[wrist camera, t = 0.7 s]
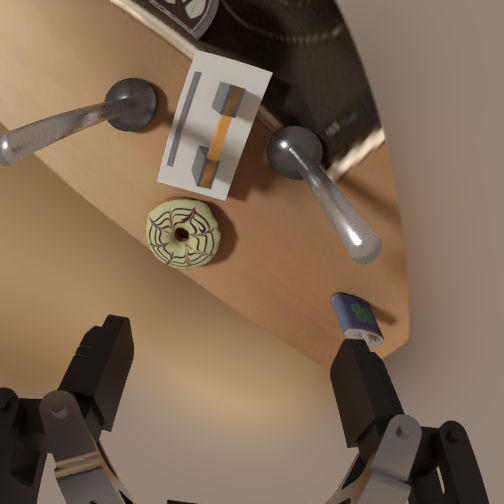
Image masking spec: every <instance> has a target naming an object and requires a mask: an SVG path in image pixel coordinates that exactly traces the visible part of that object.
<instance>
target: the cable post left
mask: <svg viewBox="0 0 504 504" xmlns="http://www.w3.org/2000/svg"><path fill="white" fill-rule="evenodd" d="M157 107H158V97H157V93H156V91H155V89H154V87H153V86H152V85H151V84H150V83H149V82H147V81H145V80H143V79H138V78H128V79H124V80H121V81H119V82H118V83H116V84H115V85H113V87H112V88H111V89H110V90H109V91H108V93H107V95H106V98H105V101H104V102H103V103H99V104H95V105H91V106H87V107H83V108H79V109H75V110H72V111H68V112H64V113H61V114H58V115H54V116H51V117H48V118H45V119H42V120H39V121H36V122H33V123H30V124H28V125H25V126H22V127H19V128H17V129H14V130H12V131H9V132H7V133H4V134H2V135H0V163H1V164H2V165H4V166H10V165H11V164H13V163H15V162H17V161H19V160H20V159H22V158H24V157H26V156H28V155H30V154H32V153H34V152H36V151H38V150H40V149H42V148H44V147H46V146H48V145H50V144H52V143H54V142H56V141H58V140H61V139H63V138H65V137H67V136H69V135H72V134H74V133H76V132H79V131H81V130H84V129H86V128H88V127H91V126H93V125H96V124H99V123H101V122H104V121H106V120H108V122H109V123H110V124H111V125H112V126H113V127H115V128H116V129H118V130H121V131H134V130H137V129H139V128H141V127H143V126H145V125H146V124H148V123H149V122H150V121H151V120H152V118H153V117H154V115H155V113H156V111H157Z"/></svg>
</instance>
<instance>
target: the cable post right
mask: <svg viewBox="0 0 504 504" xmlns="http://www.w3.org/2000/svg"><path fill="white" fill-rule="evenodd" d="M267 155H268V159H269V161H270V164H271V166H272V167H273V169H274V170H275V171H276V172H277V173H278V174H280V175H281V176H283V177H286V178H290V179H300V178H303V179H304V180H305V182H306V183H307V185H308V186H309V188H310V189H311V191H312V193H313V194H314V196H315V197H316V199H317V200H318V202H319V204H320V205H321V207H322V208H323V210H324V212H325V213H326V215H327V217H328V218H329V220H330V221H331V223H332V225H333V226H334V228H335V230H336V231H337V233H338V235H339V236H340V238H341V240H342V242H343V243H344V245H345V247H346V248H347V250H348V252H349V254H350V255H351V257H352V259H353V260H354V261H355V262H356V263H358V264H367V263H370V262H372V261H374V260H375V259H376V258H377V257H378V256H379V254H380V252H381V250H382V243H381V240H380V239H379V238H378V236H377V235H376V234H375V232H374V231H373V230H372V229H371V227H370V226H369V225H368V224H367V222H366V221H365V220H364V219H363V217H362V216H361V215H360V214H359V212H358V211H357V210H356V209H355V208H354V206H353V205H352V204H351V203H350V202H349V200H348V199H347V198H346V197H345V196H344V194H343V193H342V192H341V191H340V190H339V189H338V187H337V186H336V185H335V184H334V183H333V182H332V181H331V179H330V178H329V177H328V176H327V175H326V174H325V173H324V172H323V171H322V169H321V168H320V167H319V164H320V162H321V159H322V145H321V142H320V140H319V139H318V137H317V136H316V135H315V134H314V133H313V132H312V131H310V130H309V129H307V128H305V127H303V126H300V125H287V126H284V127H282V128H280V129H278V130H277V131H276V132H275V133H274V134H273V135H272V136H271V138H270V140H269V142H268V146H267Z"/></svg>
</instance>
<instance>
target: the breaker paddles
mask: <svg viewBox="0 0 504 504" xmlns="http://www.w3.org/2000/svg"><path fill="white" fill-rule="evenodd" d="M245 90H246V89H244V88H241V87H238V86H235V85H232V84H228V83H225V82H222V81H220V84H219V86H218V89H217V92H216V95H215V98H214V101H213V103H212V106H211V107H212V108H213V109H214V110H216V111H217V112H218V113H219V114H221V115H220V118H219V121H218V123H217V126H216V129H215V132H214V135H213V138H212V141H211V144H210V148H209V147H204V146H200V145H199V146H198V149H197V153H196V156H195V159H194V163H193V166H192V169H191V171H192V174H193V177H194V180H195V183H196V186H197V187H202V188H207V189H211V188H212V185H213V181H214V178H215V175H216V172H217V169H218V166H219V163H220V161H219V159H218V157H219V154H220V151H221V148H222V146H223V143H224V140H225V137H226V134H227V131H228V128H229V125H230V123H231V120H232V118H235V117H236V114H237V112H238V109H239V106H240V104H241V101H242V98H243V96H244V93H245Z"/></svg>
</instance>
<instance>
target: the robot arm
mask: <svg viewBox="0 0 504 504" xmlns="http://www.w3.org/2000/svg"><path fill="white" fill-rule="evenodd" d="M133 356H134V344H133V338H132V332H131V326H130V320H129V318H126V317H121V316H115V315H108V316H107V318H106V320H105V322H104V324H103V326H102V327H99V326H94V327H93V328H92V329H90V330H89V331H88V332H87V333H86V334H85V335H84V337H83V339H82V341H81V343H80V346H79V347H78V349H77V351H76V353H75V356H74V357H73V359H72V361H71V363H70V365H69V367H68V369H67V371H66V373H65V375H64V377H63V380H62V382H61V384H60V386H59V388H58V389H57V390H55V391H52V392H49V393H48V394H46V395H45V396H44V397H43V398H42V399H26V398H18V396H17V395H16V393H15V392H14V391H13V390H11V389H9V388H0V504H36V503H37V498H38V492H39V488H40V483H41V478H42V474H43V469H44V465H45V461H46V457H47V453H52V454H53V457H54V460H55V463H56V468H55V469H54V470H55V471H54V472H55V476H56V480H57V482H58V485H59V487H60V489H61V492H62V494H63V496H64V498H65V500H66V503H67V504H136V503H135V502H134V500H133V499H132V497H131V496H130V494H129V492H128V491H127V489H126V488H125V487H124V485H123V484H122V482H121V481H120V479H119V477H118V475H117V474H116V471H115V470H114V468H113V466H112V464H111V462H110V460H109V458H108V456H107V454H106V452H105V450H104V448H103V446H102V444H101V442H100V440H99V438H100V434H101V430H106V431H110V432H111V430H112V426H113V423H114V420H115V416H116V413H117V409H118V406H119V402H120V399H121V396H122V392H123V389H124V386H125V383H126V380H127V377H128V373H129V370H130V367H131V364H132V361H133ZM330 377H331V382H332V386H333V390H334V394H335V397H336V402H337V406H338V410H339V414H340V417H341V422H342V426H343V430H344V434H345V439H346V443H347V447H348V448H351V447H358V448H359V453H358V454H357V455H356V457H355V459H354V461H353V463H352V465H351V466H350V468H349V470H348V472H347V474H346V475H345V477H344V479H343V481H342V482H341V484H340V486H339V487H338V489H337V490H336V492H335V493H334V494H333V496H332V497H331V498H330V499H329V500H328V501H327V502H326V503H325V504H406V502H407V499H408V501H409V504H489V501H488V498H487V494H486V490H485V487H484V483H483V480H482V476H481V473H480V470H479V467H478V464H477V461H476V458H475V455H474V452H473V450H472V447H471V445H470V441H469V439H468V436H467V433H466V431H465V429H464V427H463V426H462V425H461V424H459V423H458V422H456V421H447V422H445V423H444V424H443V425H442V426H441V427H439V428H431V427H422V426H420V425H419V423H418V422H417V421H416V420H415V419H414V418H413V417H411V416H409V415H405V413H404V412H403V409H402V406H401V404H400V401H399V399H398V397H397V394H396V391H395V389H394V386H393V384H392V382H391V379H390V377H389V374H387V370H386V368H385V365H384V363H383V361H382V360H381V359H380V357H379V356H378V355H377V354H376V353H375V352H370V350H369V348H368V345H367V343H366V341H365V340H364V339H345V340H344V341H343V342H342V344H341V346H340V349H339V351H338V353H337V355H336V357H335V359H334V361H333V363H332V366H331V370H330ZM437 467H439V469H440V472H441V476H442V480H443V483H444V488H445V491H444V494H443V492H442V488H441V484H440V480H439V476H438V473H437V469H436V468H437ZM167 504H194V503H187V502H179V501H173V500H167ZM195 504H196V503H195Z"/></svg>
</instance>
